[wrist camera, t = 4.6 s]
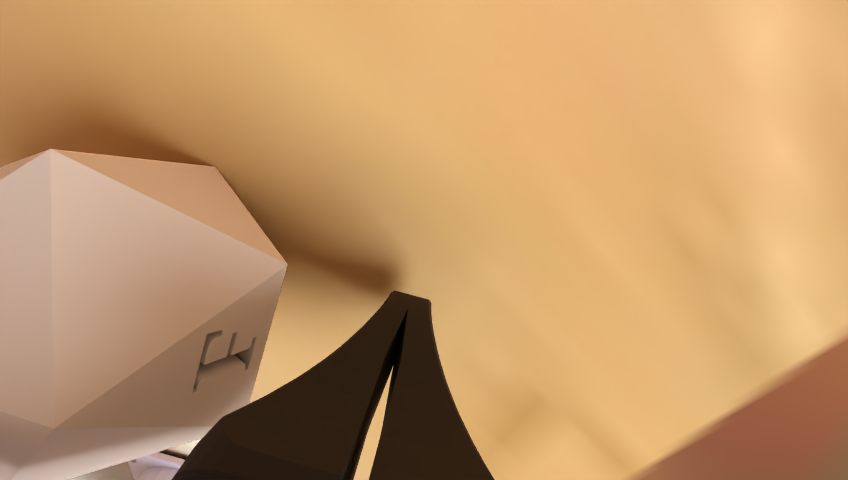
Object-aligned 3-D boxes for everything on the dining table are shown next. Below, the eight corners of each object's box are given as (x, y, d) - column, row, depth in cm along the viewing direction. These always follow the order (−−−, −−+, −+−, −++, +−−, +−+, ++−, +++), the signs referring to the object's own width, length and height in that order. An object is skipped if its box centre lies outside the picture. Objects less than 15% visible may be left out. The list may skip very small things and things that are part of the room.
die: (248, 346, 17) (267, 556, 9) (-23, 336, 13) (-515, 762, 4) (293, 180, 16) (364, 245, 8) (12, 102, 11) (-577, 51, 3)
